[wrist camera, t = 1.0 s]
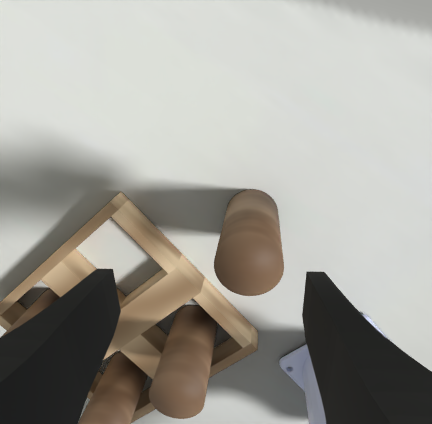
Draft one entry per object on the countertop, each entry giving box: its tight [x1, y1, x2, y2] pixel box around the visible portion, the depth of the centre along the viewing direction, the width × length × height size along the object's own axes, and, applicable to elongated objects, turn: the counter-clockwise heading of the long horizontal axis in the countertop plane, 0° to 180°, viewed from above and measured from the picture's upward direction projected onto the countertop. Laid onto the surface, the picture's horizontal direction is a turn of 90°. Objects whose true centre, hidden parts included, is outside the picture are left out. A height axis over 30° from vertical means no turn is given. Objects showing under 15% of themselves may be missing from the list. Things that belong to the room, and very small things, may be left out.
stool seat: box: [0, 192, 258, 424], centre depth 26 cm, size 15×15×7 cm
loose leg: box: [214, 189, 284, 296], centre depth 21 cm, size 4×4×7 cm
